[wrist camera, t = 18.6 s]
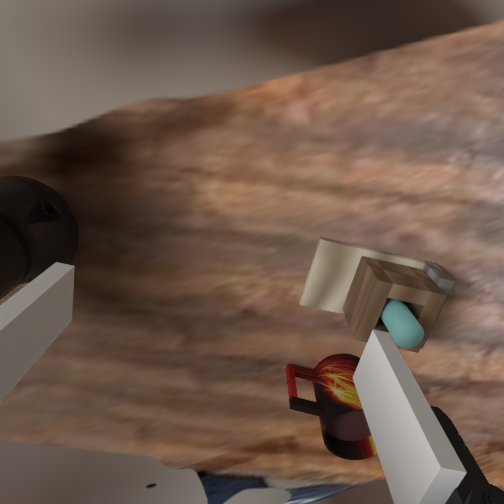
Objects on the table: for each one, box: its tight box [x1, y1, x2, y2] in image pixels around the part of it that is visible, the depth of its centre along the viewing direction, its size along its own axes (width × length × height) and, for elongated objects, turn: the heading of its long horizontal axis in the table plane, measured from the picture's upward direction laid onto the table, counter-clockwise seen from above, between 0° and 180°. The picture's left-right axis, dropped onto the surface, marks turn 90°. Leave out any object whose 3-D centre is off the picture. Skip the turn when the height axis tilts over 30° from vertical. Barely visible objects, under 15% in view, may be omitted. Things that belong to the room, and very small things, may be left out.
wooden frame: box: [299, 237, 455, 348], centre depth 53 cm, size 18×11×6 cm, turn 77°
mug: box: [286, 354, 378, 460], centre depth 57 cm, size 10×14×12 cm
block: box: [342, 256, 446, 353], centre depth 51 cm, size 9×9×8 cm
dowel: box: [380, 298, 424, 348], centre depth 49 cm, size 4×4×12 cm
